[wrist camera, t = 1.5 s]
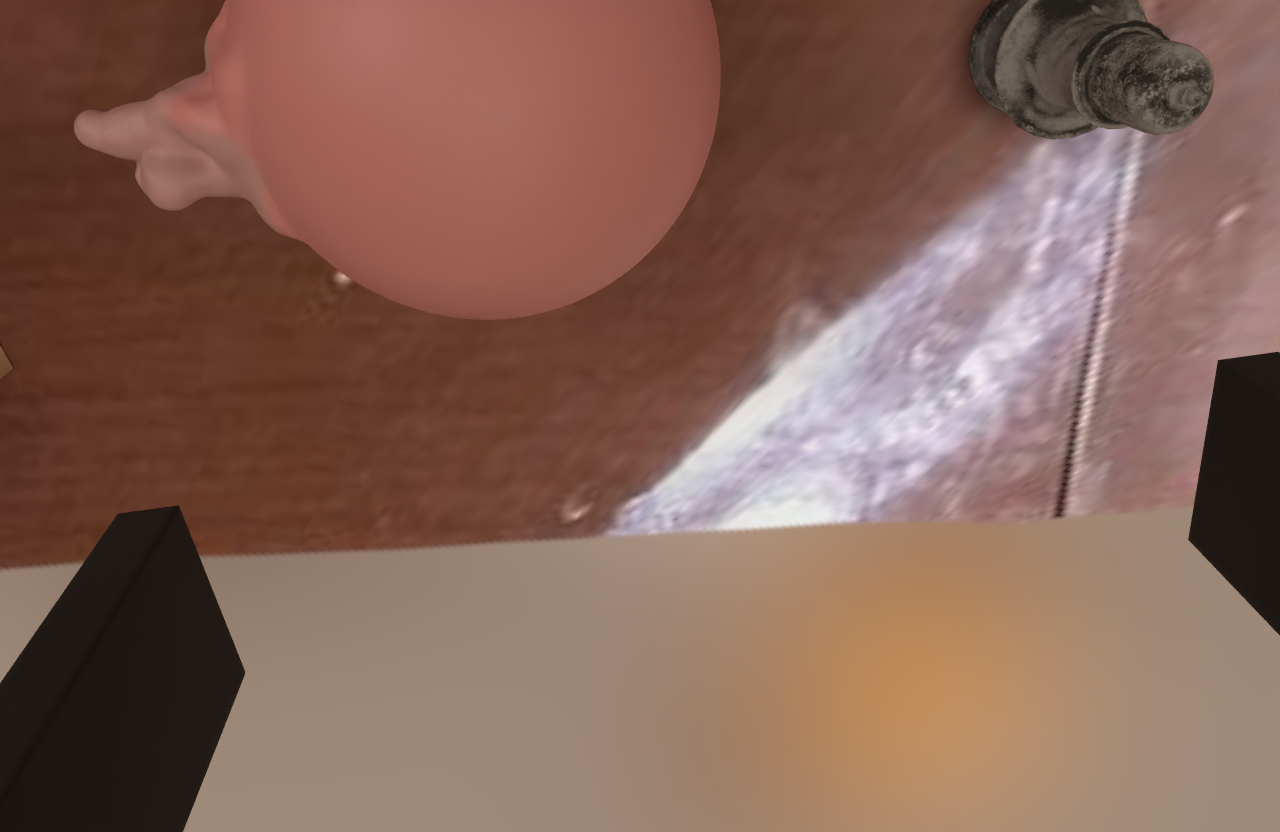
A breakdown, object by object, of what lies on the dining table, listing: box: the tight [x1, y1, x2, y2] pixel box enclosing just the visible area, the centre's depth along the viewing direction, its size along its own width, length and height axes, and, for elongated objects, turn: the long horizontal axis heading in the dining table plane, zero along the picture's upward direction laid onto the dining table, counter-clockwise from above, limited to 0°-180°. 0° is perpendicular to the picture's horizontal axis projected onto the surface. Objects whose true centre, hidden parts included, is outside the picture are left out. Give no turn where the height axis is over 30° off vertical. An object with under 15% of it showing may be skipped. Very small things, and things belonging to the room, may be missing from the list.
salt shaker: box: [968, 0, 1214, 139], centre depth 36 cm, size 6×6×12 cm
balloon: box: [74, 0, 721, 320], centre depth 33 cm, size 15×20×15 cm
